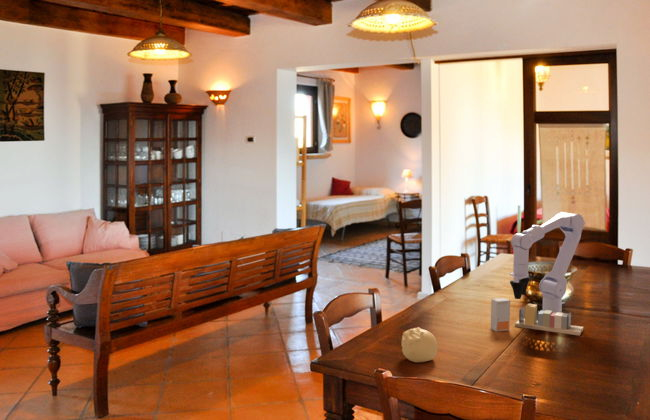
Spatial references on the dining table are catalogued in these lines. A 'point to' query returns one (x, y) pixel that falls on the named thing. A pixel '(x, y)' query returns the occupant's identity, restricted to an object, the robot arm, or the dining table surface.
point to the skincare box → (500, 314)
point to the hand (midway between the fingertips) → (520, 296)
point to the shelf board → (572, 330)
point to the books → (552, 319)
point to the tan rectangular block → (530, 314)
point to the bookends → (521, 317)
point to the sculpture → (419, 345)
